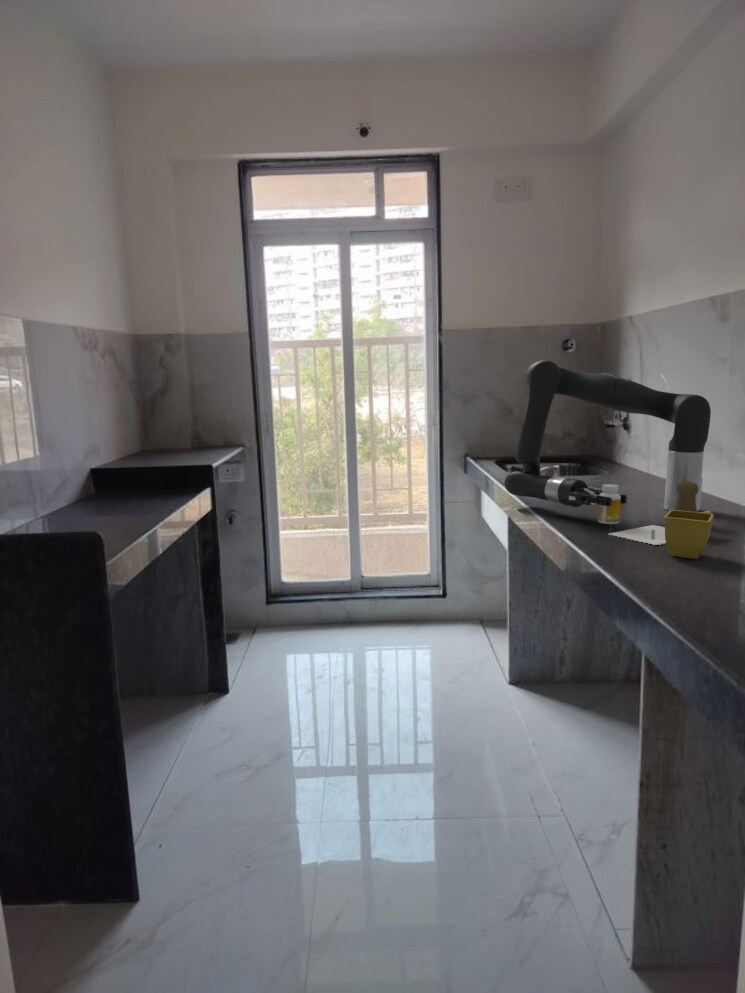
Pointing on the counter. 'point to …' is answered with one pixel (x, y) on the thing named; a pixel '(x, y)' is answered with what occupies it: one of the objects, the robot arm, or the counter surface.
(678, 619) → the counter surface
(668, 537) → the flower pot
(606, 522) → the supplement bottle
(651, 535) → the paper
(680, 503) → the olive chess pawn
